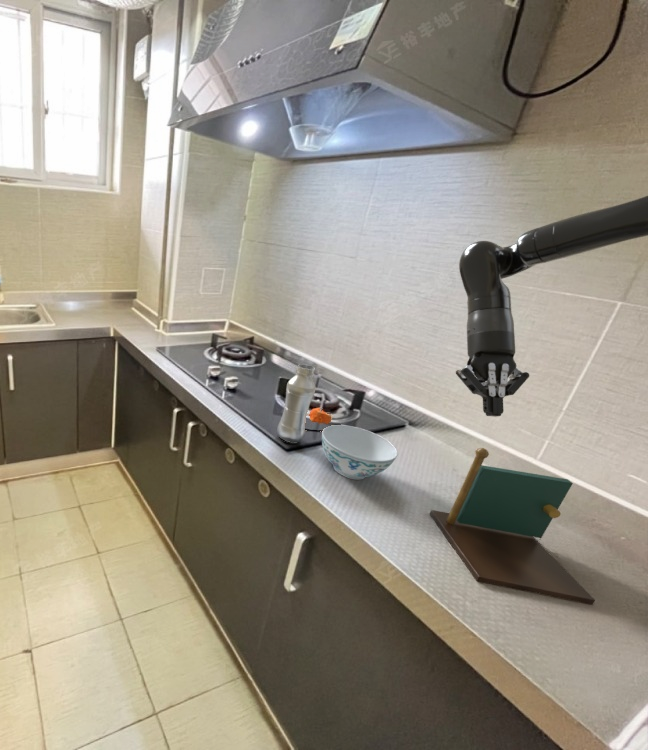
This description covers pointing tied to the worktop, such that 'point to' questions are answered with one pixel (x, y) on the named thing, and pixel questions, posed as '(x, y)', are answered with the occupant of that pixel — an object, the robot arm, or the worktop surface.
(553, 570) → the door stand
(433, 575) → the worktop surface
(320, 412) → the rock
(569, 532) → the worktop surface
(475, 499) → the door
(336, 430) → the chinaware
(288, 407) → the plastic bottle
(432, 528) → the worktop surface
